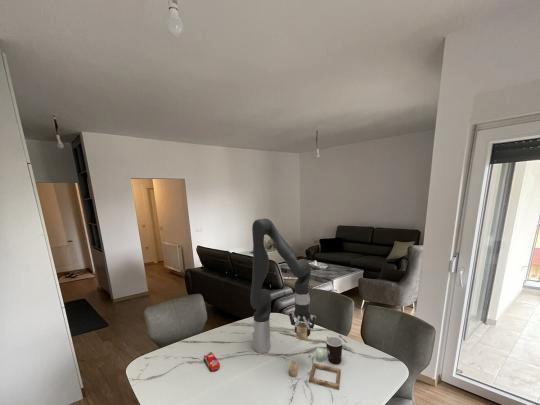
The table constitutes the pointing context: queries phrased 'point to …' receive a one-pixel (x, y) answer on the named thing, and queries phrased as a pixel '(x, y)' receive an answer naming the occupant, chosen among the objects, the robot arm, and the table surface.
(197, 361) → the table surface
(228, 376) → the table surface
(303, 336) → the oak block
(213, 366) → the race car
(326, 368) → the walnut tray
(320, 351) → the pale green rounded cylinder
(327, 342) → the coffee mug
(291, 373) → the cork cylinder
